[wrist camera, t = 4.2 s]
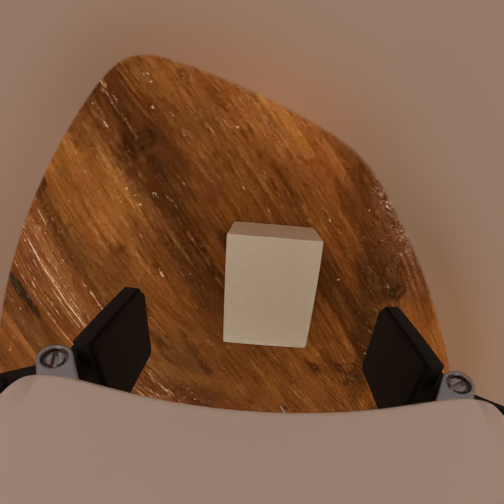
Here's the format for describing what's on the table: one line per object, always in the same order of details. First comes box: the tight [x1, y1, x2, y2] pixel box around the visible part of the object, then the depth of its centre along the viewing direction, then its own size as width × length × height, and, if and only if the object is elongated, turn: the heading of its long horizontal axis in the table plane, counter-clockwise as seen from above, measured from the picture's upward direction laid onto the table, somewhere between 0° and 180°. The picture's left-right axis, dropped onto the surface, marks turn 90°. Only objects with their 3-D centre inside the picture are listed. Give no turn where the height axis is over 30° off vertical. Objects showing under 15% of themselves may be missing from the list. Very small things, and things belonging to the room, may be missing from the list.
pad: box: [223, 221, 323, 348], centre depth 15 cm, size 6×4×3 cm
